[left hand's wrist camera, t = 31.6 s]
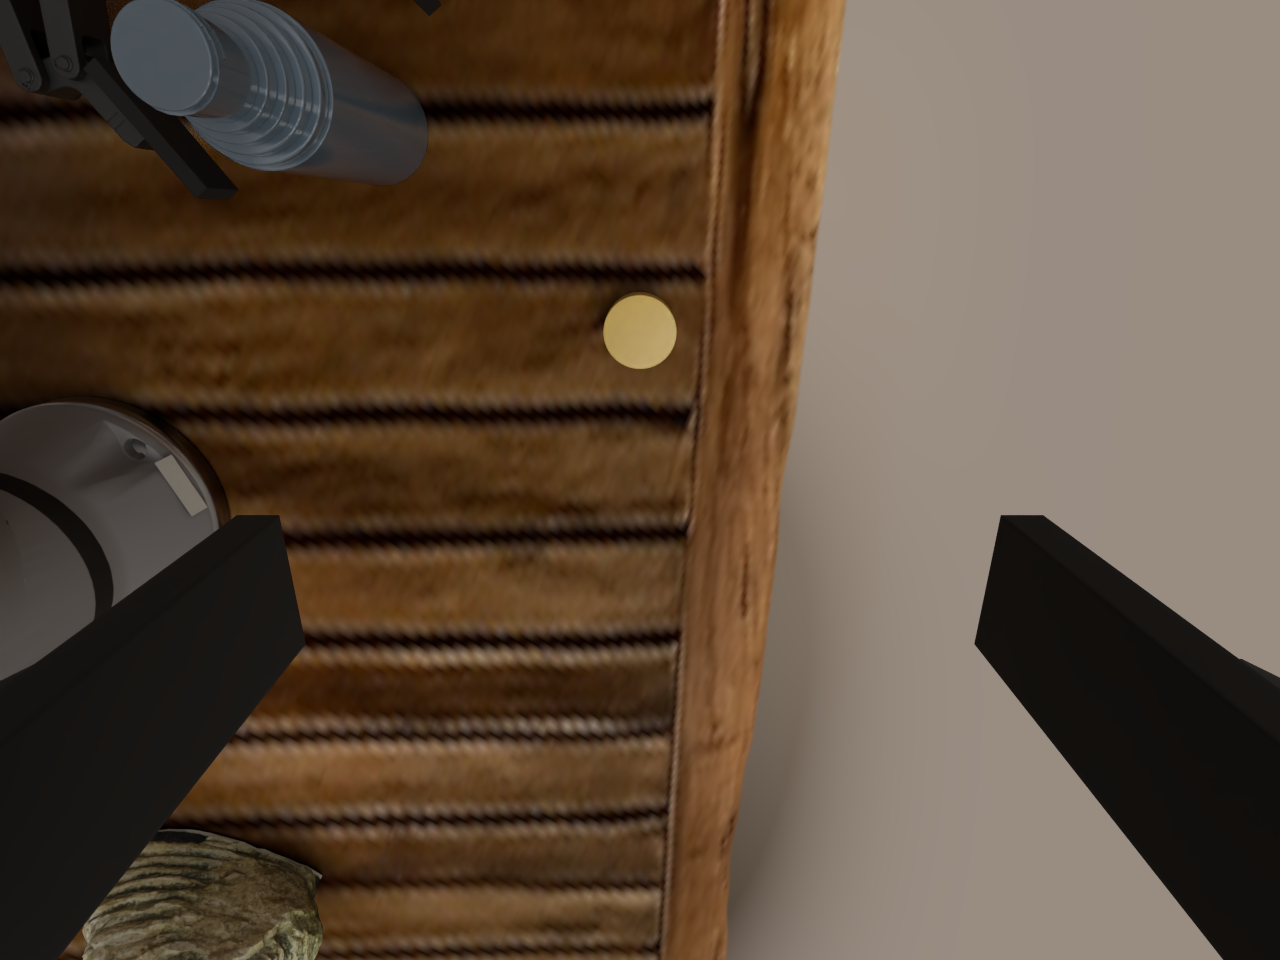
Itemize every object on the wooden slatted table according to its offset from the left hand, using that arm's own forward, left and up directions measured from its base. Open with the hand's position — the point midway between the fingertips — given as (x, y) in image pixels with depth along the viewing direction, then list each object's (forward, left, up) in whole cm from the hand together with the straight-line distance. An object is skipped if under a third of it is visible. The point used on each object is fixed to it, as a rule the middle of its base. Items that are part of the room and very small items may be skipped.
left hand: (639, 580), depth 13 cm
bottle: (-14, +12, -31) cm, 36 cm away
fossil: (-37, -43, -31) cm, 65 cm away
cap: (0, 0, -30) cm, 30 cm away
